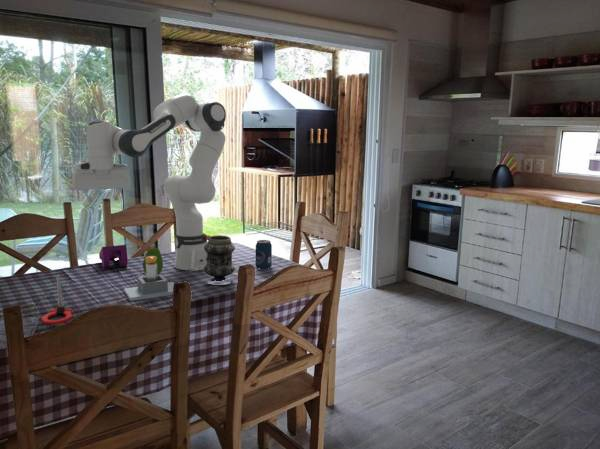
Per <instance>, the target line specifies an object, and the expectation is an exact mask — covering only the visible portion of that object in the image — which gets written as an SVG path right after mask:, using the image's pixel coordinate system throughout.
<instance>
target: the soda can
mask: <svg viewBox="0 0 600 449" xmlns="http://www.w3.org/2000/svg"><path fill="white" fill-rule="evenodd" d="M272 246H273V245H272V243H271V240H269V239H259V240H257V241H256V244H255V263H254V264H255V267H257V268H260V269H268V268H270V267H272V264H273V263H272V260H273V259H272V251H273V249H272V248H273V247H272ZM257 268H256V269H257ZM270 269H271V268H270Z"/></svg>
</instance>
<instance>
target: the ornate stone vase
mask: <svg viewBox="0 0 600 449" xmlns="http://www.w3.org/2000/svg"><path fill="white" fill-rule="evenodd" d="M209 236H210V237H209V240H207V243H206V244H205V246H204V250H205V251H206V252H207V263H206V264H205V266H204V270H203V271H204V273H205V274H207V275H208V276H211V278H209V279H210V280H211V281H215V280H216V281H222V280H225V279H226V278H225V277H227V276H231V275H232V274H233V273H234V272H235V271H236V270H235V269H236V266H235V264H234V263H233V261H232V260H233V252H234V251H235V250H236V246H235V244H234V243H233V242H232V239H231V236H228V235H220V234H219V235H209Z"/></svg>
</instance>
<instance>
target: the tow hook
mask: <svg viewBox="0 0 600 449" xmlns="http://www.w3.org/2000/svg"><path fill="white" fill-rule="evenodd" d="M56 287H57V288H56V290H57V291H56V292H57V297H58V298H57V305H58V306H56V309H50V311H49V312H47V313H46V314H44V315H43V316H42V317H41V322H42V323H43V324H47V325H55V323H58V324H61V323H65V322H67V321H69V320H71V319H72V318H73V313H74V309H73V308H67V307H66V305H65V304H64V303H65V302H64V298H63V291H62V282H61V276H60V274H59V275H56ZM57 315H63V316H65V317H61V318H59V319H49V318H52V317H54V316H57Z"/></svg>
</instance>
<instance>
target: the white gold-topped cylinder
mask: <svg viewBox="0 0 600 449" xmlns="http://www.w3.org/2000/svg"><path fill="white" fill-rule="evenodd" d="M144 258H145V262H146V274H145V276H146V277H147V282H153V281H158V276H157V257H156V256H148V257H145V256H144Z"/></svg>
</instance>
